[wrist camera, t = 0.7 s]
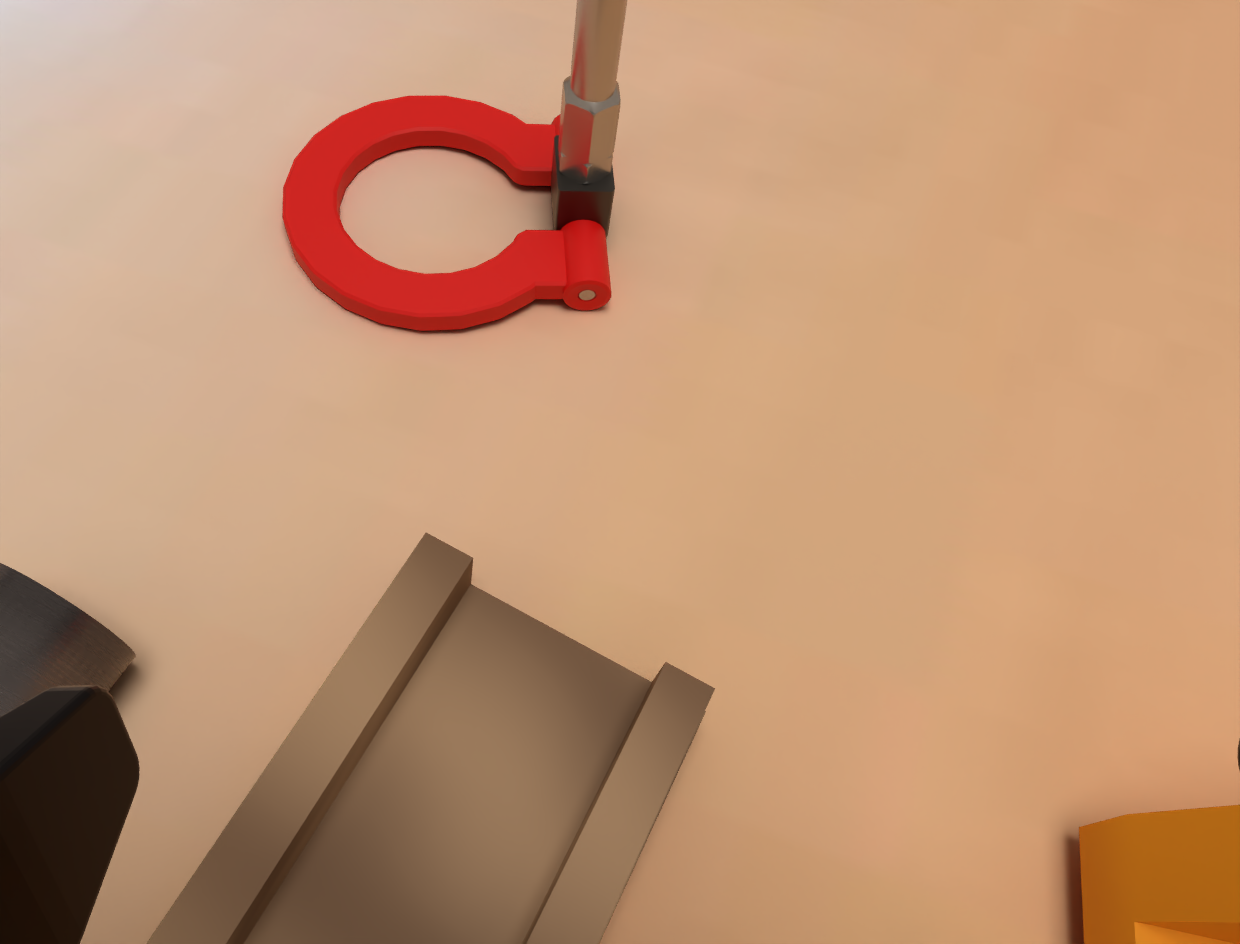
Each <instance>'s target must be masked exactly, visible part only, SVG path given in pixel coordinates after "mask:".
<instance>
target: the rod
mask: <svg viewBox="0 0 1240 944" xmlns="http://www.w3.org/2000/svg"><path fill="white" fill-rule="evenodd" d="M135 657H136V655H135V653H134V652H133V651H132V649H131V648H130V647H129V646H128V645H127V644H125V643H124V642H123V641H122V640H121V639H120V638H118V637H117V636H116V635H115V634H114V633H112V632H111V631H110V630H108V629H107V628H106V627H104V626H103V625H102V624H100V623H99V622H98V621H96V620H95V619H93V618H92V617H91V616H89V615H88V614H86V613H85V612H83V611H82V610H80V609H79V608H77V607H76V606H74V605H73V604H71V603H70V602H68V601H67V600H65V599H64V598H62V597H60V596H59V595H57V594H56V593H54V592H52V591H51V590H49V589H48V588H46V587H44V586H43V585H41V584H39V583H37V582H36V581H34V580H32V579H31V578H29V577H27V576H25V575H23V574H21V573H20V572H18V571H16V570H14V569H12V568H10V567H8V566H6V565H4V564H1V563H0V716H2V715H3V714H5V713H7V712H9V711H10V710H12V709H14V708H15V707H17V706H19V705H21V704H22V703H24V702H26V701H27V700H29V699H31V698H33V697H34V696H36V695H38V694H39V693H41V692H43V691H45V690H47V689H49V688H52V687H56V686H76V685H96V686H100V687H103V688H104V689H106V690H107V691H109V690H110V688H111V687H112V686H113V685H114V683H115V682H116V681H117V680H118V678H119V677H120V676H121V674H122V673H123V672H124V671H125V669H126V668H127V667H128V666H129V664H130V663H131V662H132V661H133V659H134V658H135Z"/></svg>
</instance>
